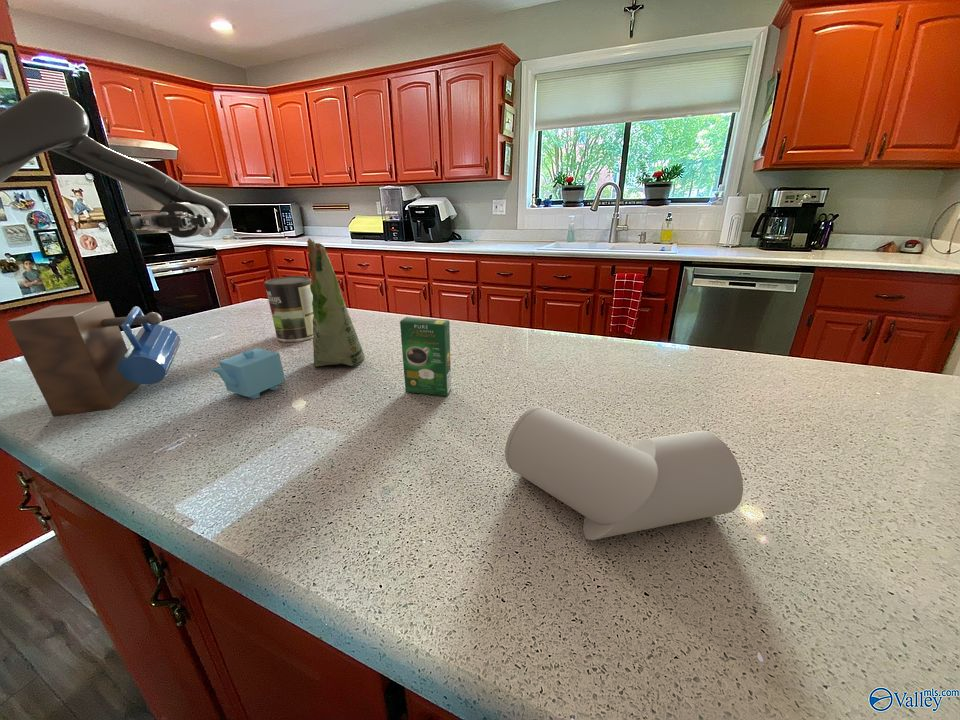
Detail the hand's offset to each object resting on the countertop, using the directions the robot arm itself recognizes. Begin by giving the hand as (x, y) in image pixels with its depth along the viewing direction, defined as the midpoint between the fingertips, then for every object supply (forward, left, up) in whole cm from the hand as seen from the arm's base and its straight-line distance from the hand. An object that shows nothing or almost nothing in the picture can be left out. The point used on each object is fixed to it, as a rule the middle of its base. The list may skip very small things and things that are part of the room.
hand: (155, 223), depth 79 cm
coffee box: (+47, -36, -28) cm, 66 cm away
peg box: (-4, -20, -28) cm, 35 cm away
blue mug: (0, -23, -21) cm, 31 cm away
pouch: (+31, -16, -28) cm, 45 cm away
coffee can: (+21, +6, -28) cm, 36 cm away
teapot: (+17, -26, -28) cm, 42 cm away
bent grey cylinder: (+61, -68, -28) cm, 96 cm away
